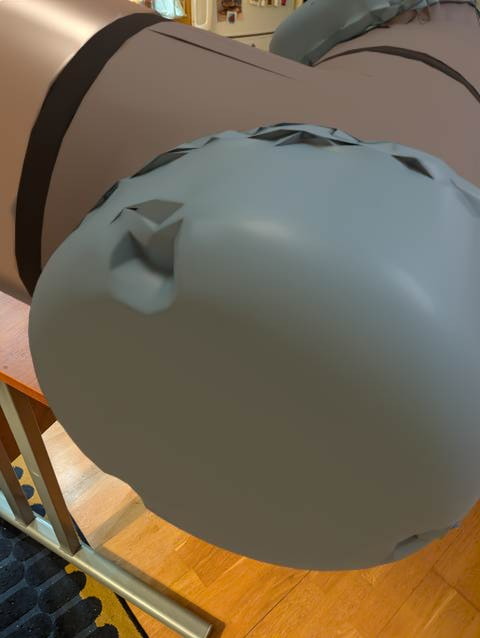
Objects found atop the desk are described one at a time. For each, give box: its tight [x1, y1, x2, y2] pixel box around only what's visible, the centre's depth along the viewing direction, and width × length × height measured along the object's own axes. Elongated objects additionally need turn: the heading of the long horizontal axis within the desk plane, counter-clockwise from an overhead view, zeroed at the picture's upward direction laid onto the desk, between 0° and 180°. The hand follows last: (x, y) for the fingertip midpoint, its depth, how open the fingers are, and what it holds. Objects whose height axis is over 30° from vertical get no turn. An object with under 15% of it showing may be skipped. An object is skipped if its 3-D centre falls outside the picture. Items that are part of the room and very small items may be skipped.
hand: (204, 295), depth 50 cm, fingers open, 13 cm apart
